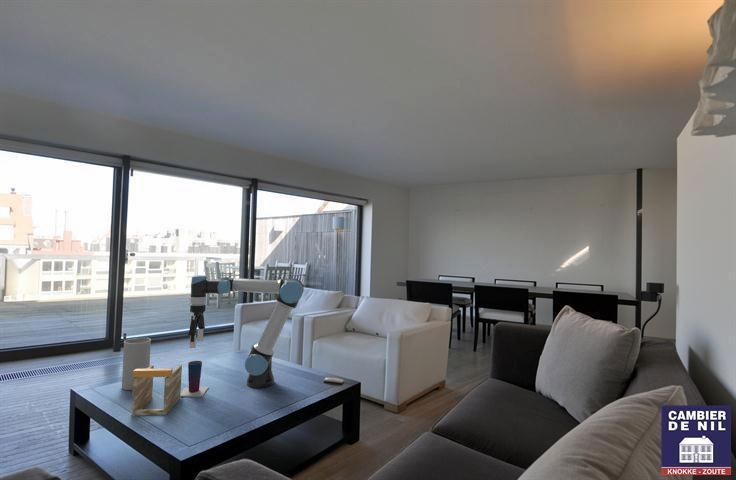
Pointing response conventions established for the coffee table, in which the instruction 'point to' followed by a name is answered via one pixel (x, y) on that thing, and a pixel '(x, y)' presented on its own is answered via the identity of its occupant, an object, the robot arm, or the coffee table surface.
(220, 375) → the coffee table surface
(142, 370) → the tie bar
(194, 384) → the cup
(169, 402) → the cradle
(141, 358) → the cylinder vase
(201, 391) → the pad
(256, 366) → the robot arm
